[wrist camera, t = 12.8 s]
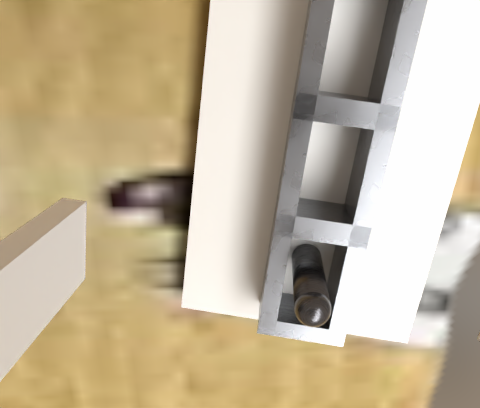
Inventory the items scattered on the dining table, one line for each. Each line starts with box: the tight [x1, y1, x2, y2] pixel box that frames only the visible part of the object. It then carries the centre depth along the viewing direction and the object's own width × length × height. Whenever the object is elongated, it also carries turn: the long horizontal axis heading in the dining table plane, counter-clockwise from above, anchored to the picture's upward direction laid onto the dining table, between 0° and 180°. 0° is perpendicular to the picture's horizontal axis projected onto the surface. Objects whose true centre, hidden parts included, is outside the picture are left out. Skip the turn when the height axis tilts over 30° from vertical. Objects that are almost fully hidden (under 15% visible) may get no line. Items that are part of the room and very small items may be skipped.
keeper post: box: [292, 244, 331, 327], centre depth 29 cm, size 2×2×8 cm
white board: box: [181, 0, 480, 343], centre depth 31 cm, size 28×18×2 cm, turn 173°
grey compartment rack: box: [257, 0, 428, 347], centre depth 29 cm, size 24×6×4 cm, turn 173°
